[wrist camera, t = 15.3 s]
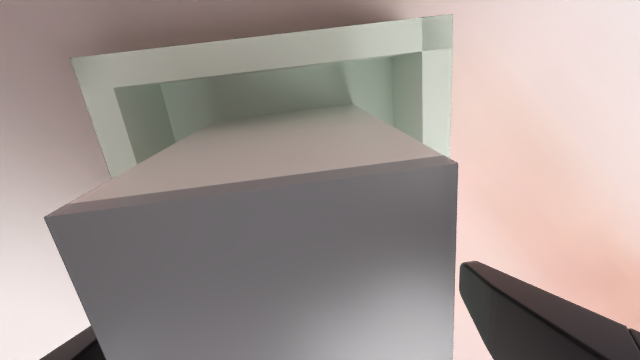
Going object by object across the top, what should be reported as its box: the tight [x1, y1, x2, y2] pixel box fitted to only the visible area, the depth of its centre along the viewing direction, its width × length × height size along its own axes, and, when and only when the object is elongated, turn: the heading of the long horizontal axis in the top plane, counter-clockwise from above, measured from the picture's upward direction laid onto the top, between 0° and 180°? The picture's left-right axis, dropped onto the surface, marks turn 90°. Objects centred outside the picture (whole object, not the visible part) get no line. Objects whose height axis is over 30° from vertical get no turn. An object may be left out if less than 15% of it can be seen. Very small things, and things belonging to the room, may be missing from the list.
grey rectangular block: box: [44, 104, 458, 360], centre depth 9 cm, size 5×9×8 cm, turn 7°
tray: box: [70, 14, 453, 179], centre depth 12 cm, size 10×14×4 cm
